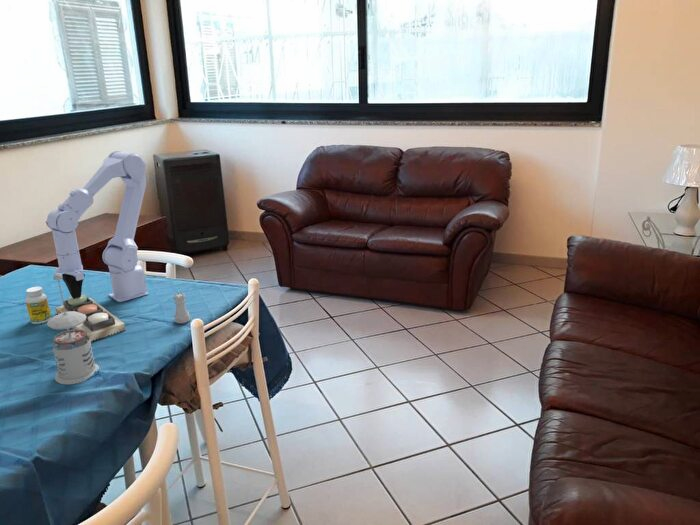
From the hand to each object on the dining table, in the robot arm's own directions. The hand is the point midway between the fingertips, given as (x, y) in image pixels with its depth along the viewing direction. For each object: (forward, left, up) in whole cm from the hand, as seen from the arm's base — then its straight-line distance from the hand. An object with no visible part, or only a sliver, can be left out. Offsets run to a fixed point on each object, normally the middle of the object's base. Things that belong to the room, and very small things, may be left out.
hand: (76, 297), depth 165 cm
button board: (0, +8, -5) cm, 9 cm away
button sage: (0, 0, -2) cm, 2 cm away
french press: (+12, +34, -5) cm, 36 cm away
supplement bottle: (+10, -3, -5) cm, 11 cm away
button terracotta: (0, +8, -3) cm, 9 cm away
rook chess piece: (-19, +26, -5) cm, 33 cm away
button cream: (0, +16, -3) cm, 16 cm away
